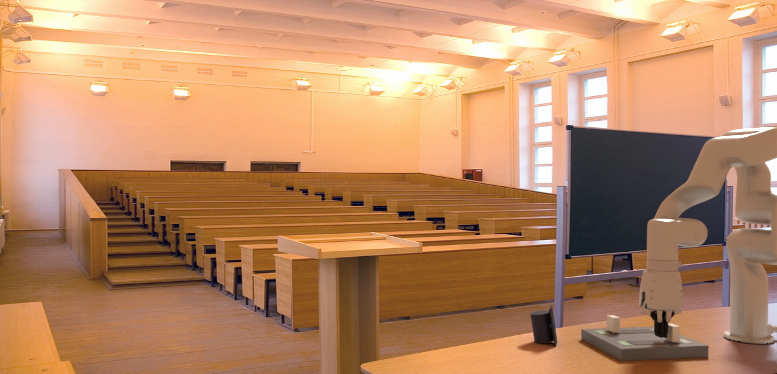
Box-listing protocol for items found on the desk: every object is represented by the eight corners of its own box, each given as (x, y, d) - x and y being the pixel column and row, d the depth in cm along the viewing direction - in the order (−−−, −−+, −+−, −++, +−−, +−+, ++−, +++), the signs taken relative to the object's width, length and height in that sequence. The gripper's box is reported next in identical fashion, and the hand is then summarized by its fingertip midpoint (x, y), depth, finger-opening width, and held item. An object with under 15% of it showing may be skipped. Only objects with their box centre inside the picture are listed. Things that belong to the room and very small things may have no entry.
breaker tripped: (671, 338, 170) (671, 323, 170) (679, 341, 166) (679, 326, 166) (664, 338, 169) (664, 323, 169) (672, 342, 166) (672, 326, 166)
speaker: (564, 341, 178) (560, 304, 178) (555, 347, 174) (551, 308, 174) (539, 340, 183) (535, 304, 183) (530, 345, 178) (526, 308, 179)
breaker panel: (659, 336, 186) (659, 326, 185) (708, 357, 164) (708, 345, 164) (581, 339, 182) (581, 328, 182) (621, 360, 160) (621, 348, 160)
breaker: (613, 329, 180) (613, 315, 180) (619, 332, 176) (619, 317, 176) (606, 329, 180) (606, 315, 180) (613, 332, 176) (613, 318, 176)
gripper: (679, 264, 172) (678, 332, 172) (627, 264, 170) (626, 333, 170) (697, 268, 164) (696, 339, 164) (643, 268, 162) (642, 340, 162)
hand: (660, 336), depth 167 cm, fingers closed
